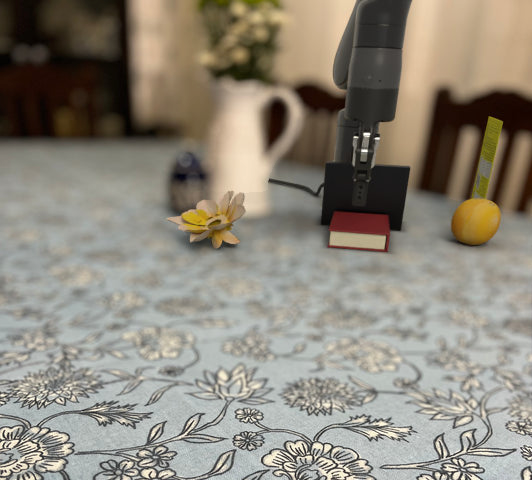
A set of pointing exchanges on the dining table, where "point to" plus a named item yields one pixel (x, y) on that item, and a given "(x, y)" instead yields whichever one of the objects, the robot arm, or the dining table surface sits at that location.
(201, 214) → the decorative flower
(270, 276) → the dining table surface
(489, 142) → the food package
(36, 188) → the dining table surface
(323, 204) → the bookend
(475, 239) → the fruit
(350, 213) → the book
